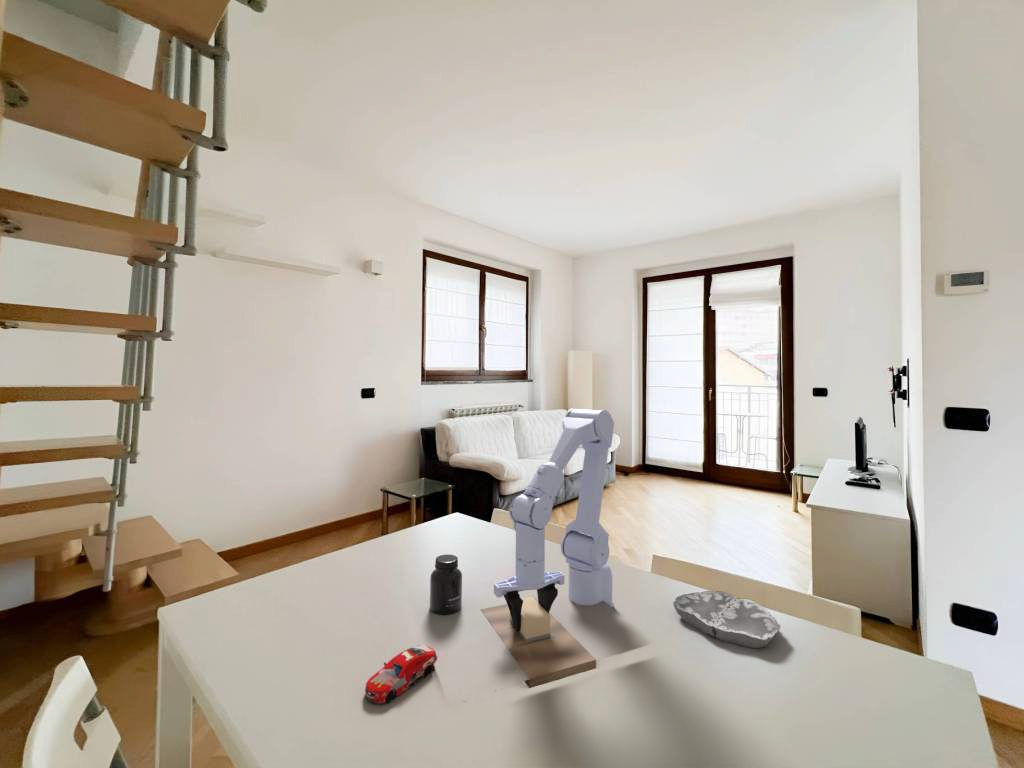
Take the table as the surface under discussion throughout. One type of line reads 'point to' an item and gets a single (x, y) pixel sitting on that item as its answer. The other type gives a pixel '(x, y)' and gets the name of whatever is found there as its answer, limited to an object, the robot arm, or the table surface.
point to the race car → (400, 674)
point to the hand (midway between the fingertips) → (529, 625)
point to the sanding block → (533, 620)
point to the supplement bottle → (446, 586)
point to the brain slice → (728, 618)
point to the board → (541, 649)
